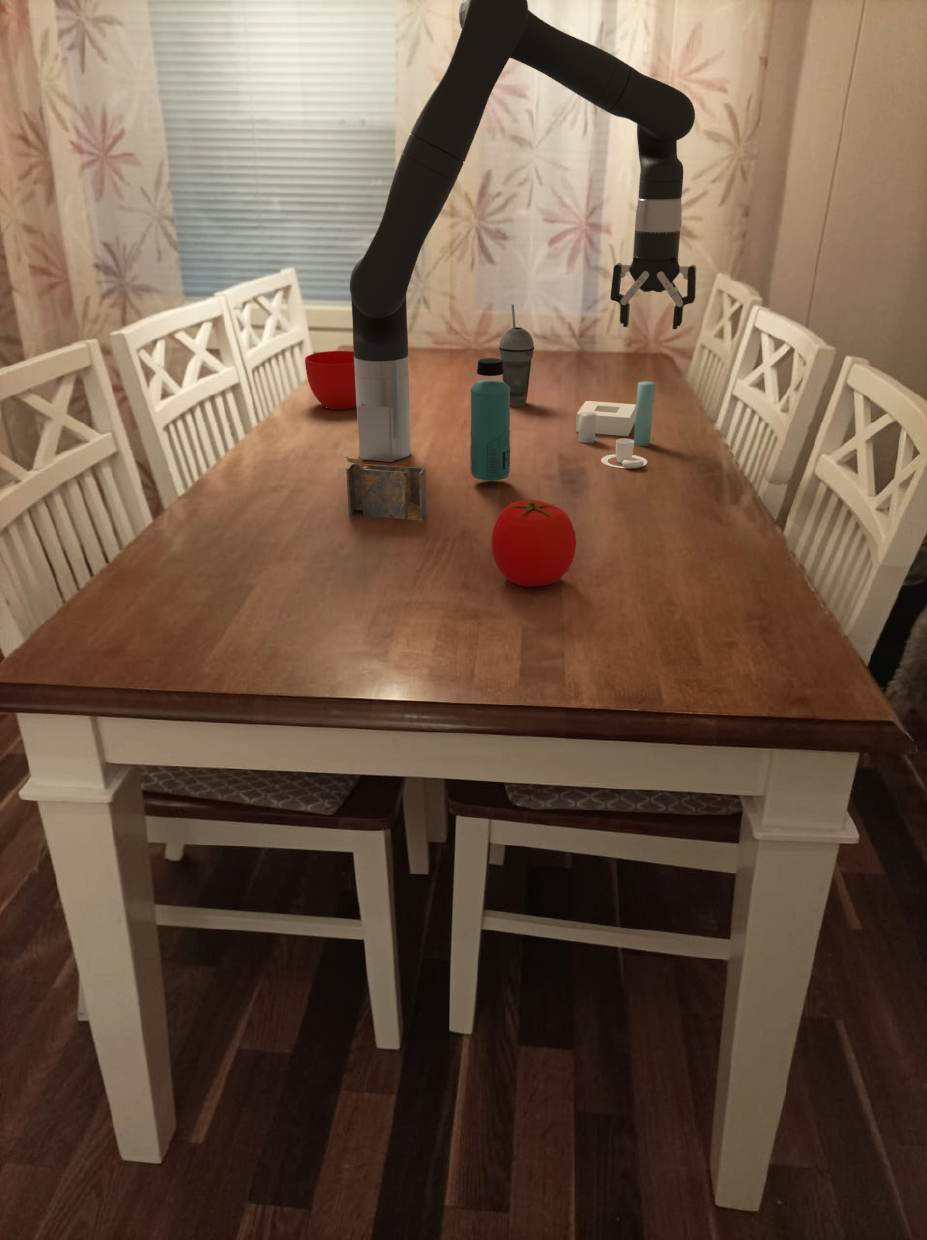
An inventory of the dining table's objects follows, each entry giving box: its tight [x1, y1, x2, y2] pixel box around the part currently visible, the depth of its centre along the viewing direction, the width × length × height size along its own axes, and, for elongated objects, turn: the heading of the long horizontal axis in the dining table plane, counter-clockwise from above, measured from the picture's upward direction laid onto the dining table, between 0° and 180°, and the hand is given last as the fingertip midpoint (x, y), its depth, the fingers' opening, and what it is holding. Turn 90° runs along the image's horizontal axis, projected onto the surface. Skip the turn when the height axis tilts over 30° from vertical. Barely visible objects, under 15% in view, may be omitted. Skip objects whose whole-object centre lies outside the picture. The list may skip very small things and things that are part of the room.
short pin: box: [578, 412, 596, 444], centre depth 177 cm, size 3×3×5 cm
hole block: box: [575, 400, 636, 437], centre depth 185 cm, size 10×10×4 cm
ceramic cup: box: [304, 350, 357, 411], centre depth 198 cm, size 13×17×10 cm
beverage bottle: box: [469, 357, 512, 482], centre depth 152 cm, size 6×7×20 cm
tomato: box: [491, 499, 577, 588], centre depth 121 cm, size 10×11×11 cm
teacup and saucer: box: [600, 437, 648, 470], centre depth 166 cm, size 9×8×4 cm
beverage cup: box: [498, 304, 535, 408], centre depth 197 cm, size 7×7×20 cm
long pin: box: [633, 381, 656, 447], centre depth 174 cm, size 3×3×11 cm
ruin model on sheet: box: [345, 456, 427, 521], centre depth 142 cm, size 11×3×10 cm, turn 78°
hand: (650, 327), depth 168 cm, fingers open, 8 cm apart
